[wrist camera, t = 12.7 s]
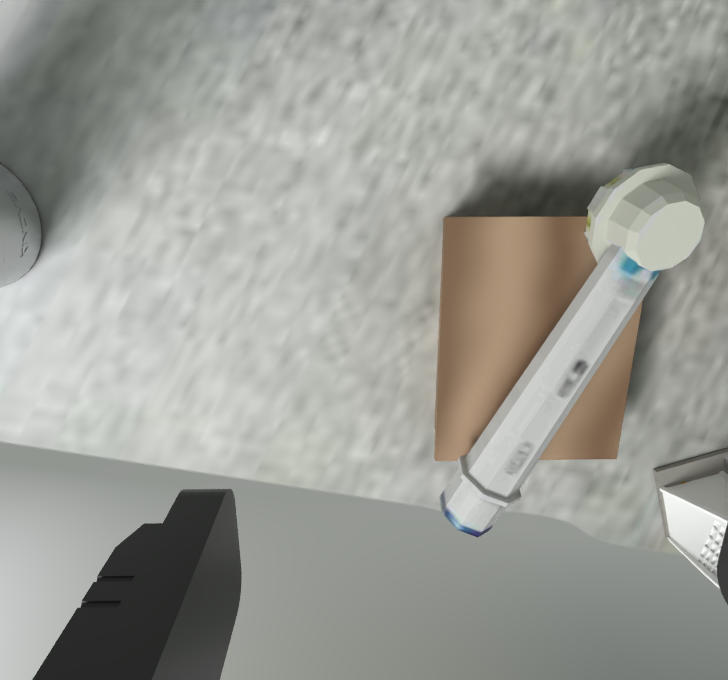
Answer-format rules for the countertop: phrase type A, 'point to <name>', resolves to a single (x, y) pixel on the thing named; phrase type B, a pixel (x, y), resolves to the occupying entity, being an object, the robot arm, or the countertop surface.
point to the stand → (518, 330)
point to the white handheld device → (579, 335)
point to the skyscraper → (696, 507)
